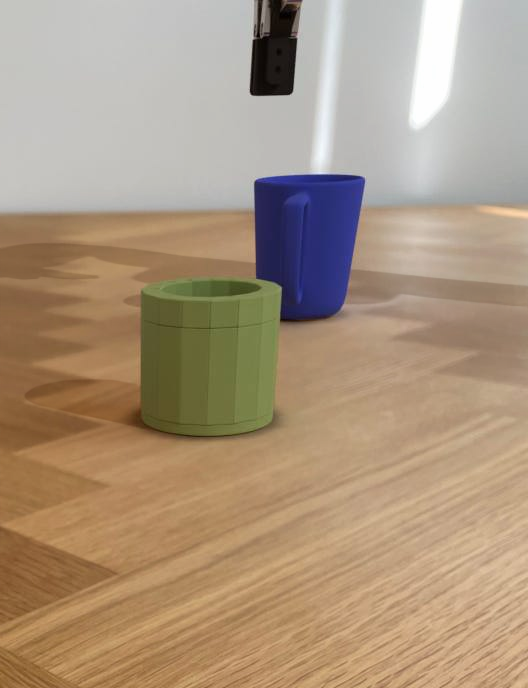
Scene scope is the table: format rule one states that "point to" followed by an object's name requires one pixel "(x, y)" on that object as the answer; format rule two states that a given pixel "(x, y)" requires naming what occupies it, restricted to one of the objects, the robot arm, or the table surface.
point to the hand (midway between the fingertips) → (271, 94)
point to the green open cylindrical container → (209, 354)
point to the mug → (307, 239)
